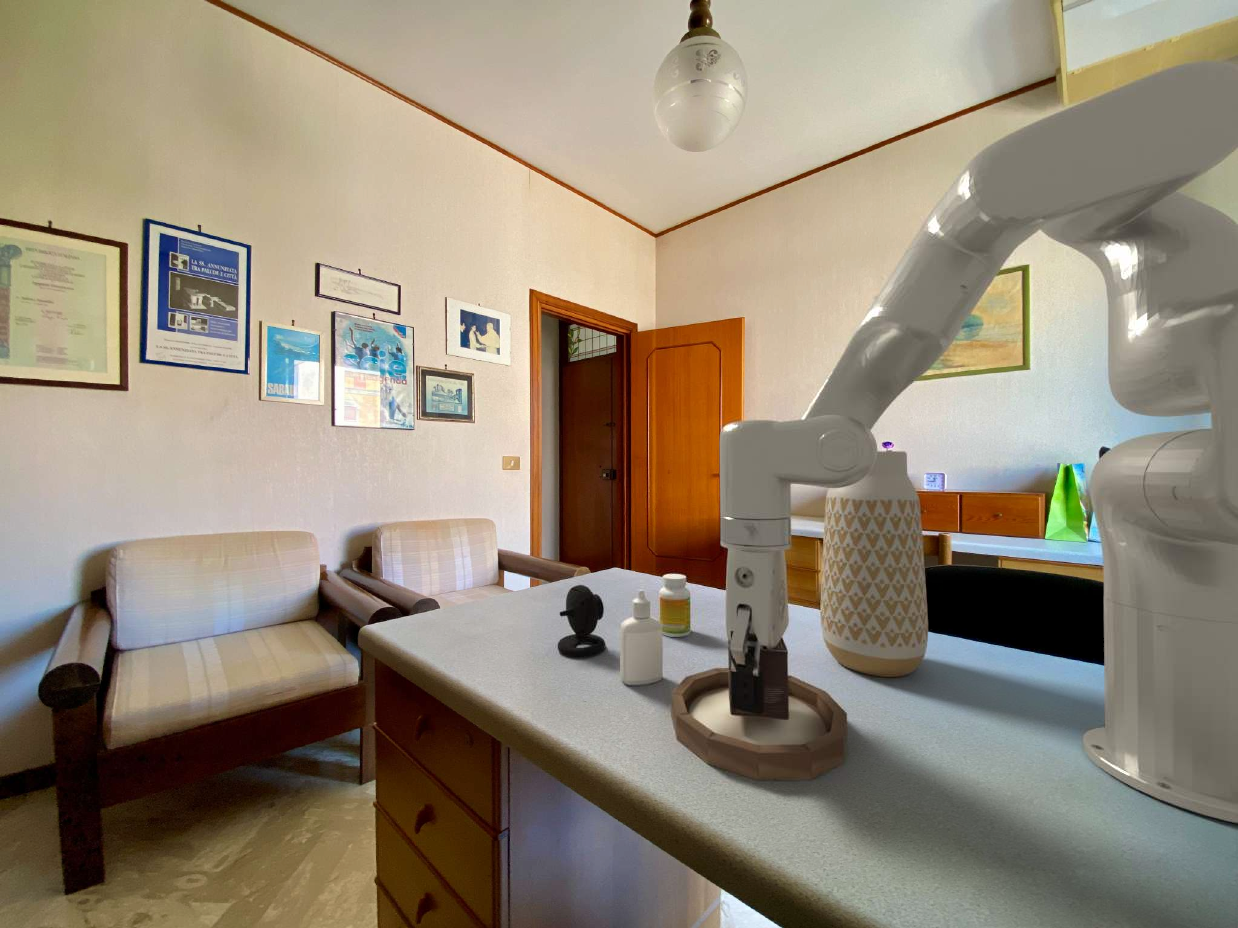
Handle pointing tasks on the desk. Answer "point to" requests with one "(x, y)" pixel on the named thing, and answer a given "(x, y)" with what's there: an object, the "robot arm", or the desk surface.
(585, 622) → the webcam
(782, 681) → the box
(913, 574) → the vase
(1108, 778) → the desk surface
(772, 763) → the round tray
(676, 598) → the supplement bottle
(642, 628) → the eye dropper bottle
